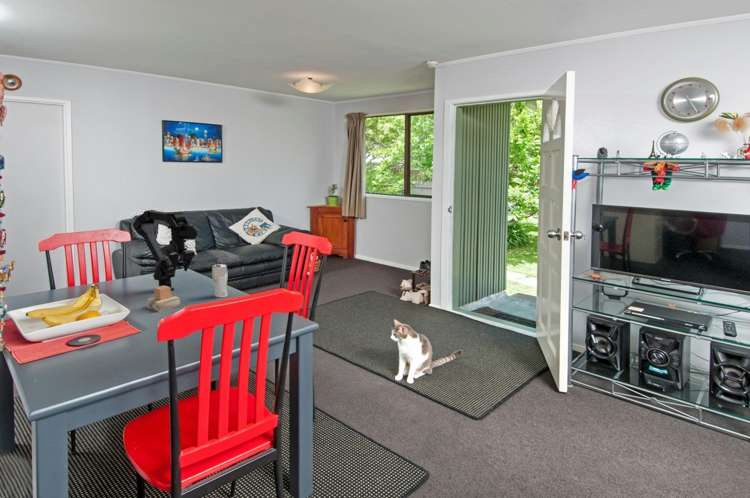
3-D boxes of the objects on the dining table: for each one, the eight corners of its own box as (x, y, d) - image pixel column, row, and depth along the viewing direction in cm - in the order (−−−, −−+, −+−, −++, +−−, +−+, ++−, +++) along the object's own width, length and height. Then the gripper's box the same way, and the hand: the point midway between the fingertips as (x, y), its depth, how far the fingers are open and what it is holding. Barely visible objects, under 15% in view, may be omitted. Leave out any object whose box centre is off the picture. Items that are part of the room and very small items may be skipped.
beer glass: (224, 298, 228) (222, 267, 225) (211, 297, 229) (208, 266, 226) (231, 294, 234) (229, 264, 231) (218, 293, 236) (216, 263, 233)
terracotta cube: (154, 298, 214) (153, 287, 213) (165, 296, 218) (164, 285, 217) (160, 300, 211) (159, 289, 210) (171, 297, 215) (170, 287, 214)
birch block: (147, 307, 214) (146, 298, 213) (168, 302, 222) (167, 293, 221) (159, 311, 208) (158, 303, 207) (180, 306, 216) (179, 297, 215)
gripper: (151, 238, 230) (154, 270, 233) (172, 242, 219) (175, 275, 222) (173, 235, 238) (175, 265, 241) (194, 239, 227) (197, 271, 230)
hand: (180, 269), depth 233 cm, fingers open, 9 cm apart
